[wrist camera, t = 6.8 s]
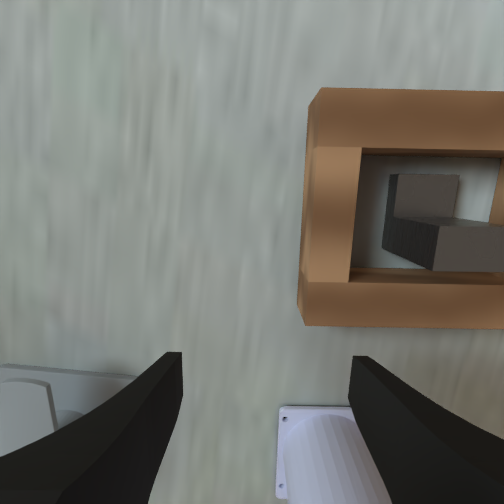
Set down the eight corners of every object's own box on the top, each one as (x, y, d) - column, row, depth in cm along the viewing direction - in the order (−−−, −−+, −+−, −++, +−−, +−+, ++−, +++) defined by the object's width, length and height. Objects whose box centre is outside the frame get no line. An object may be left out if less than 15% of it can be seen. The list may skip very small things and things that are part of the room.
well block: (503, 307, 22) (550, 329, 18) (296, 304, 22) (305, 325, 18) (549, 111, 19) (616, 94, 15) (308, 106, 18) (321, 87, 15)
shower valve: (121, 394, 18) (119, 566, 21) (151, 346, 23) (146, 489, 26) (-82, 375, 17) (-52, 553, 20) (-4, 330, 23) (11, 478, 26)
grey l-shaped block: (435, 248, 21) (507, 272, 15) (381, 247, 21) (432, 271, 15) (447, 175, 20) (530, 170, 14) (389, 174, 20) (448, 169, 14)
